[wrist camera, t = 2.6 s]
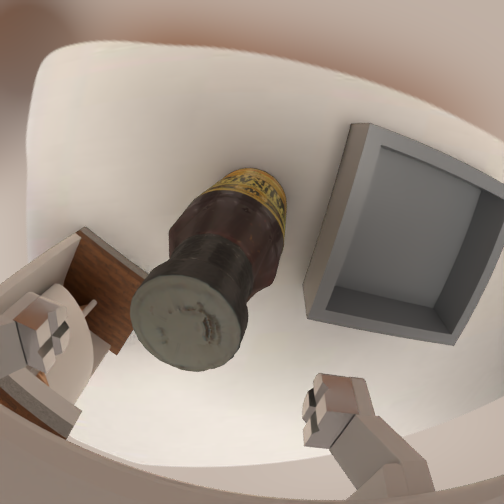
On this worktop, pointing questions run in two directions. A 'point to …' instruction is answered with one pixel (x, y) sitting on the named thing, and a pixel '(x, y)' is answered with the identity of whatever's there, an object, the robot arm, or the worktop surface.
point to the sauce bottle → (212, 272)
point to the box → (404, 240)
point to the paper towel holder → (71, 324)
